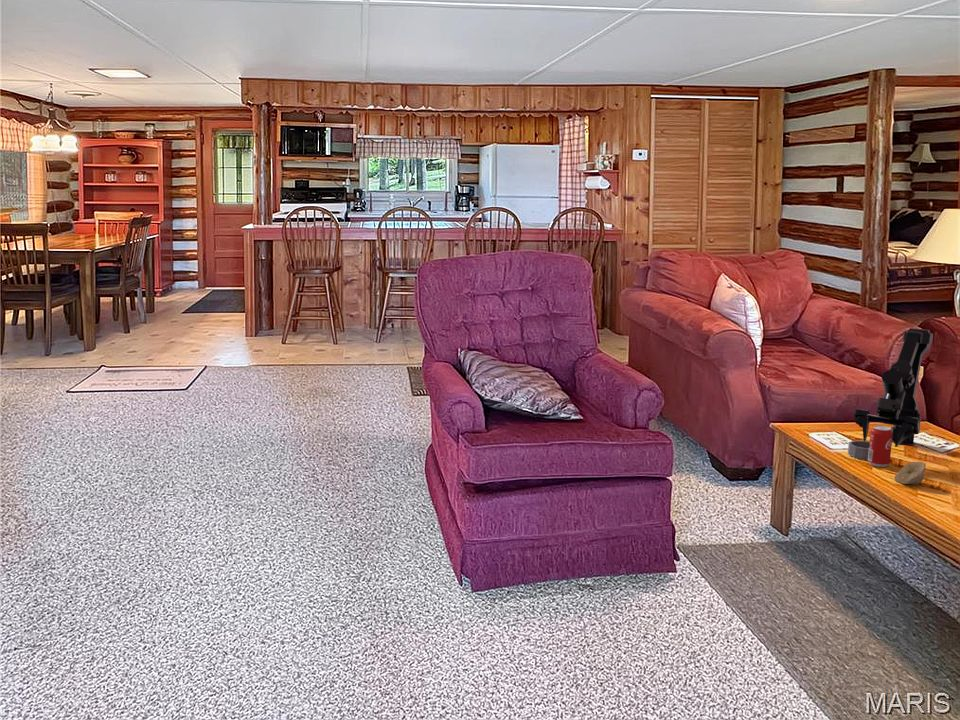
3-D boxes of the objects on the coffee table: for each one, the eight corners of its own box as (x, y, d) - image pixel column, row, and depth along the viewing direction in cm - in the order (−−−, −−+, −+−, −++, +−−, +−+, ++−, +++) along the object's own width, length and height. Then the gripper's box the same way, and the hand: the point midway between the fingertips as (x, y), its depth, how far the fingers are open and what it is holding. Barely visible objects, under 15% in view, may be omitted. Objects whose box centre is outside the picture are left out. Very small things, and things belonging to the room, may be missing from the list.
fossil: (908, 458, 268) (930, 461, 259) (917, 469, 269) (939, 472, 259) (888, 479, 267) (909, 483, 257) (897, 489, 268) (918, 494, 258)
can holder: (875, 453, 293) (876, 441, 293) (882, 461, 284) (883, 449, 284) (845, 451, 295) (846, 439, 294) (851, 459, 286) (852, 447, 285)
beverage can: (891, 468, 277) (895, 431, 275) (869, 466, 278) (873, 429, 276) (886, 462, 283) (890, 425, 281) (865, 461, 284) (869, 424, 282)
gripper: (858, 383, 285) (845, 424, 279) (922, 392, 274) (910, 434, 268) (862, 403, 293) (849, 443, 286) (924, 412, 282) (913, 454, 275)
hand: (879, 443), depth 279 cm, fingers open, 9 cm apart
